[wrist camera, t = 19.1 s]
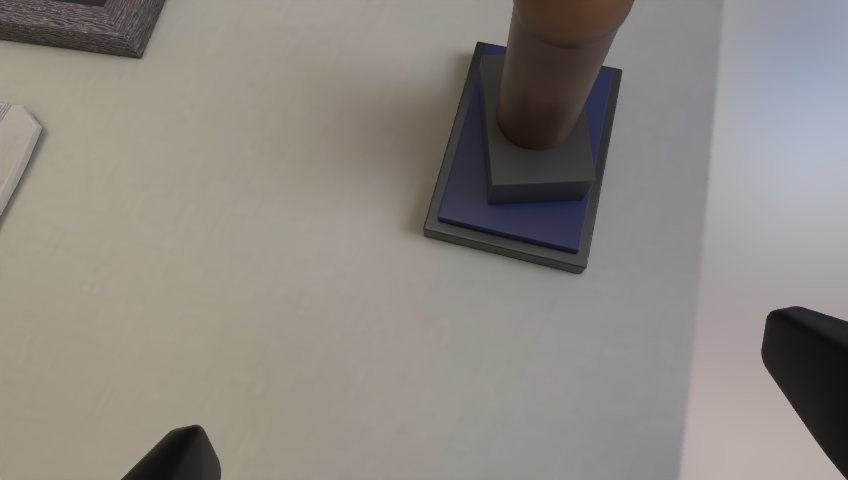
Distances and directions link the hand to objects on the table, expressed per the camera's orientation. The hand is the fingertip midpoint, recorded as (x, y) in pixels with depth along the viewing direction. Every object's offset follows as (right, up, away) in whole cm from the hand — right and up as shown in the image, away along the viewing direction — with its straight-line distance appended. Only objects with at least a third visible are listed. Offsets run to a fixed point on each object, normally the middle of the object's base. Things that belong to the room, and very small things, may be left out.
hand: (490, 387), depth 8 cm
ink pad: (+4, +6, +16) cm, 18 cm away
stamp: (+4, +7, +15) cm, 17 cm away
